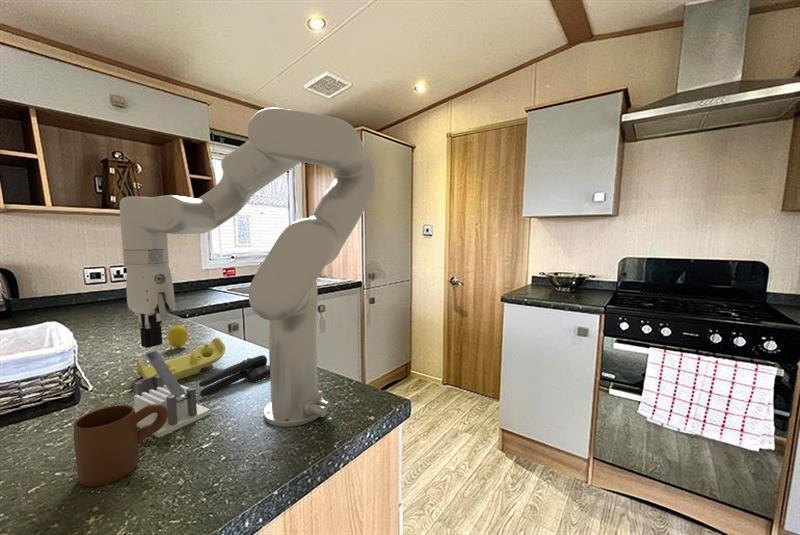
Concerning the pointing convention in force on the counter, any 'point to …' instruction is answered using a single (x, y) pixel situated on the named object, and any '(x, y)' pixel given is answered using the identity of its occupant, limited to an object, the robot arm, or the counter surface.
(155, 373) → the plastic component
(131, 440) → the mug
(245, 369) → the can opener
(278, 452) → the counter surface
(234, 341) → the counter surface
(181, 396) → the grey long flat bar
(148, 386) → the heatsink board
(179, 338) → the lemon
